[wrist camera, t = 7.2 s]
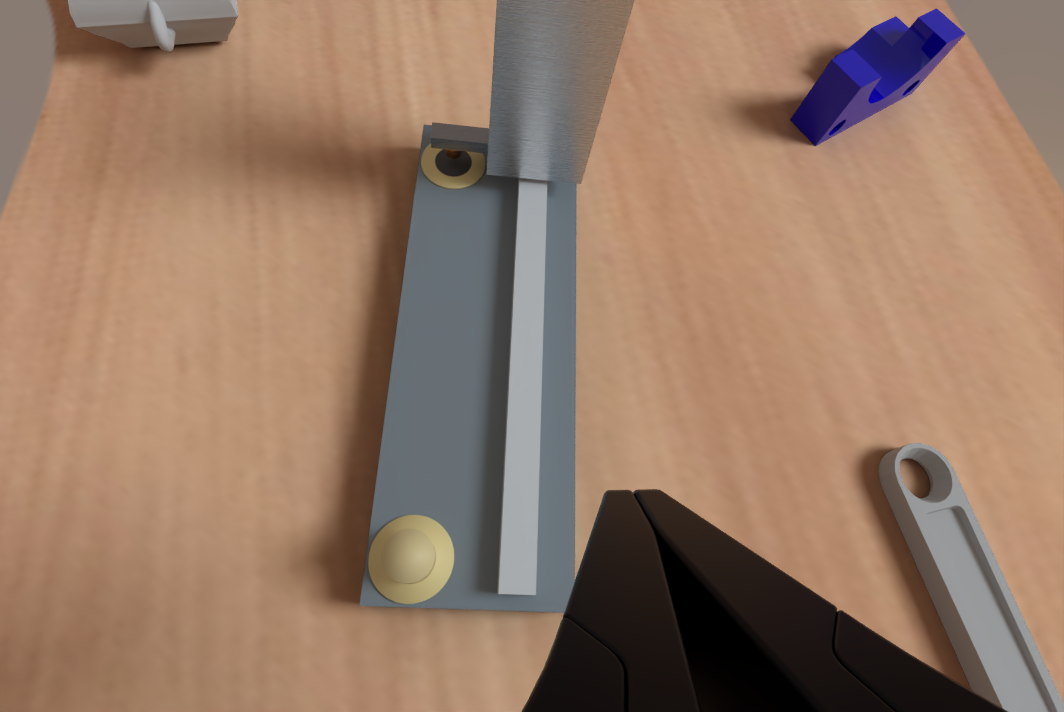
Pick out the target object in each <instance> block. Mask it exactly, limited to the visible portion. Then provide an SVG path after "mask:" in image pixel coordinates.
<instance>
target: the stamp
mask: <svg viewBox="0 0 1064 712" xmlns="http://www.w3.org/2000/svg"><path fill="white" fill-rule="evenodd" d="M68 5H69V10H70V15H71V17H72V19H73V21H74V22H75V25H76V27H77V28H79V29H83V30H86V31H88V32H90V33H92V34H94V35H97V36H101V37H104V38H107V39H110V40H113V41H116V42H119V43H122V44H124V45H126V46H127V47H129V48H137V47H150V46H159V47H160V48H161V49H162V50H163V51H167V52H171V51H172V50H173V48H174V45H176V44H189V43H202V42H216V41H227V39H228V35H229V33H230V31H231V30H232V28H233V26H234V25H235V21H236V19H237V17H238V11H237V0H68Z"/></svg>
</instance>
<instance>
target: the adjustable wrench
mask: <svg viewBox="0 0 1064 712" xmlns="http://www.w3.org/2000/svg"><path fill="white" fill-rule="evenodd" d="M906 458H910V459H912V460H914V461H916V462H918V463H919V464H920V465H921V466H922V467H923V468H924V470H925V471H926V473H927V475H928V477H929V480H930V492H929V495H928V496H927V497H925V498H920V499H919V498H917V497H916V496H914V495H913V494H912V493H911V492H910V491H909V490H908V489H907V487H906V486H905V484H904V482H903V481H902V478H901V475H900V461H901V460H902V459H906ZM879 479H880V483H881V486H882V488H883V491H884V493H885V495H886V497H887V500H888V502H889V504H890V506H891V509H892V511H893V513H894V515H895V518H896V520H897V522H898V525H899V527H900V529H901V531H902V534H903V536H904V538H905V540H906V543H907V545H908V547H909V549H910V552H911V554H912V556H913V558H914V561H915V563H916V565H917V567H918V570H919V572H920V574H921V576H922V579H923V581H924V583H925V585H926V588H927V590H928V592H929V594H930V597H931V599H932V601H933V604H934V606H935V608H936V610H937V613H938V615H939V617H940V619H941V622H942V624H943V626H944V628H945V631H946V633H947V635H948V637H949V640H950V642H951V644H952V646H953V649H954V651H955V653H956V655H957V658H958V660H959V662H960V664H961V667H962V669H963V671H964V673H965V676H966V678H967V680H968V683H969V685H970V687H971V689H972V691H973V692H975V693H977V694H978V695H980V696H982V697H984V698H985V699H987V700H989V701H991V702H992V703H994V704H996V705H998V706H999V707H1001V708H1003V709H1005V710H1006V711H1008V712H1064V703H1063V701H1062V699H1061V697H1060V695H1059V693H1058V691H1057V689H1056V686H1055V684H1054V682H1053V680H1052V678H1051V676H1050V674H1049V671H1048V669H1047V667H1046V665H1045V663H1044V661H1043V659H1042V657H1041V654H1040V652H1039V650H1038V648H1037V646H1036V644H1035V642H1034V640H1033V637H1032V635H1031V633H1030V631H1029V629H1028V627H1027V625H1026V622H1025V620H1024V618H1023V616H1022V614H1021V612H1020V610H1019V608H1018V605H1017V603H1016V601H1015V599H1014V597H1013V595H1012V593H1011V590H1010V588H1009V586H1008V584H1007V582H1006V580H1005V578H1004V576H1003V573H1002V571H1001V569H1000V567H999V565H998V563H997V561H996V559H995V556H994V554H993V552H992V550H991V548H990V546H989V544H988V541H987V539H986V537H985V535H984V533H983V531H982V529H981V527H980V524H979V522H978V520H977V518H976V516H975V514H974V512H973V509H972V507H971V505H970V503H969V501H968V499H967V497H966V495H965V492H964V490H963V488H962V486H961V484H960V482H959V480H958V478H957V475H956V473H955V471H954V469H953V467H952V466H951V464H950V463H949V461H948V460H947V458H946V457H945V456H944V455H943V454H941V453H940V452H939V451H938V450H936V449H935V448H933V447H931V446H929V445H925V444H922V443H911V444H908V445H905V446H903V447H900V448H897V449H894V450H892V451H890V452H887V453H886V454H885V456H884V457H883V458H882V459H881V462H880V465H879Z"/></svg>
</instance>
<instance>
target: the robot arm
mask: <svg viewBox="0 0 1064 712" xmlns="http://www.w3.org/2000/svg"><path fill="white" fill-rule="evenodd" d="M522 712H1008V711H1006V710H1005V709H1003V708H1001V707H999V706H998V705H996V704H994V703H992V702H991V701H989V700H987V699H985V698H984V697H982V696H980V695H978V694H977V693H975V692H973V691H971V690H970V689H968V688H966V687H964V686H963V685H961V684H959V683H957V682H956V681H954V680H952V679H951V678H949V677H947V676H946V675H944V674H942V673H941V672H939V671H937V670H935V669H934V668H932V667H930V666H929V665H927V664H925V663H924V662H922V661H920V660H919V659H917V658H915V657H914V656H912V655H910V654H909V653H907V652H905V651H904V650H902V649H901V648H899V647H898V646H896V645H894V644H893V643H891V642H890V641H888V640H887V639H885V638H883V637H882V636H880V635H879V634H877V633H876V632H874V631H872V630H871V629H869V628H868V627H866V626H865V625H863V624H862V623H860V622H859V621H857V620H856V619H854V618H853V617H851V616H850V615H848V614H847V613H845V612H844V611H842V610H839V611H838V612H837V608H836V606H834V605H833V604H831V603H830V602H828V601H827V600H825V599H824V598H822V597H821V596H819V595H818V594H816V593H815V592H813V591H812V590H810V589H809V588H807V587H806V586H804V585H803V584H801V583H800V582H798V581H797V580H795V579H794V578H792V577H791V576H789V575H788V574H786V573H785V572H783V571H782V570H780V569H779V568H777V567H776V566H774V565H773V564H771V563H769V562H768V561H766V560H765V559H763V558H762V557H760V556H759V555H757V554H756V553H754V552H753V551H751V550H750V549H748V548H747V547H745V546H744V545H742V544H741V543H739V542H738V541H736V540H735V539H733V538H732V537H730V536H729V535H727V534H726V533H724V532H723V531H721V530H720V529H718V528H717V527H715V526H714V525H712V524H711V523H709V522H708V521H706V520H705V519H703V518H702V517H700V516H699V515H697V514H696V513H694V512H693V511H691V510H690V509H688V508H687V507H685V506H684V505H682V504H681V503H679V502H678V501H676V500H675V499H673V498H672V497H670V496H669V495H667V494H666V493H664V492H662V491H661V490H657V489H648V490H635V491H634V492H633V493H632V491H630V490H608V491H606V492H605V493H604V496H603V499H602V502H601V505H600V508H599V511H598V514H597V517H596V520H595V523H594V526H593V529H592V532H591V535H590V538H589V541H588V544H587V547H586V550H585V553H584V556H583V559H582V562H581V565H580V568H579V571H578V574H577V577H576V580H575V583H574V586H573V589H572V592H571V595H570V598H569V601H568V604H567V607H566V610H565V613H564V616H563V619H562V621H561V623H560V626H559V629H558V632H557V635H556V638H555V641H554V643H553V646H552V648H551V651H550V653H549V656H548V659H547V661H546V664H545V666H544V669H543V671H542V673H541V675H540V677H539V679H538V681H537V683H536V685H535V687H534V689H533V691H532V693H531V695H530V697H529V699H528V701H527V703H526V704H525V706H524V708H523V710H522Z"/></svg>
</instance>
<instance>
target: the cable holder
mask: <svg viewBox="0 0 1064 712" xmlns="http://www.w3.org/2000/svg"><path fill="white" fill-rule="evenodd" d="M964 35H965V33H964V32H963V31H962V30H961V29H960V28H958V27H957V26H956V25H955V24H954V23H953V22H952V21H950V20H949V19H948V18H947V17H946V16H945V15H944V14H942V13H941V12H940V11H939V10H938V9H935V10H932V11H930V12H928V13H926V14H924V15H922V16H920V17H918V18H917V20H916V21H915V22H914V23H913V24H912V26H911V27H910V28H908V27H907V26H906V25H905V24H904V23H903V22H902V21H901V20H899V19H898V18H897V17H894V18H891V19H889V20H887V21H885V22H883V23H881V24H879V25H877V26H875V27H873V28H871V29H870V30H869V31H868V32H867V33H866V34H865V35H864V36H863V37H862V38H860V39H859V40H858V41H857V42H856V43H854V44H853V45H852V46H851V47H849V48H848V49H846V50H845V51H843V52H842V53H840V54H838V55H837V56H835V58H834V59H832V60H831V61H830V63H829V64H828V66H827V67H826V69H825V70H824V72H823V73H822V74H821V76H820V77H819V79H818V80H817V82H816V83H815V85H814V86H813V87H812V89H811V90H810V92H809V93H808V95H807V96H806V98H805V99H804V100H803V102H802V103H801V105H800V106H799V108H798V109H797V111H796V112H795V114H794V115H793V116H792V118H791V119H790V120H791V121H792V122H793V123H794V125H795V126H796V127H797V128H798V129H799V130H800V131H801V132H802V133H803V134H804V135H805V136H806V137H807V138H808V139H809V140H810V141H811V142H812V143H813V144H814V145H815V146H817V145H818V144H820V143H822V142H824V141H826V140H828V139H829V138H831V137H833V136H835V135H837V134H839V133H840V132H842V131H844V130H846V129H848V128H850V127H851V126H853V125H855V124H857V123H859V122H861V121H862V120H864V119H866V118H868V117H870V116H872V115H873V114H875V113H877V112H879V111H881V110H883V109H884V108H886V107H888V106H890V105H892V104H894V103H895V102H897V101H899V100H901V99H903V98H905V97H906V96H908V95H910V94H912V93H913V92H914V91H915V89H916V88H917V87H918V86H919V85H920V84H921V83H922V82H923V81H924V79H925V78H926V77H927V76H928V75H929V74H930V73H931V72H932V71H933V69H934V68H935V67H936V66H937V65H938V64H939V63H940V62H941V60H942V59H943V58H944V57H945V56H946V55H947V54H948V53H949V52H950V50H951V49H952V48H953V47H954V46H955V45H956V44H957V43H958V42H959V40H960V39H961V38H962V37H963V36H964Z"/></svg>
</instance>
